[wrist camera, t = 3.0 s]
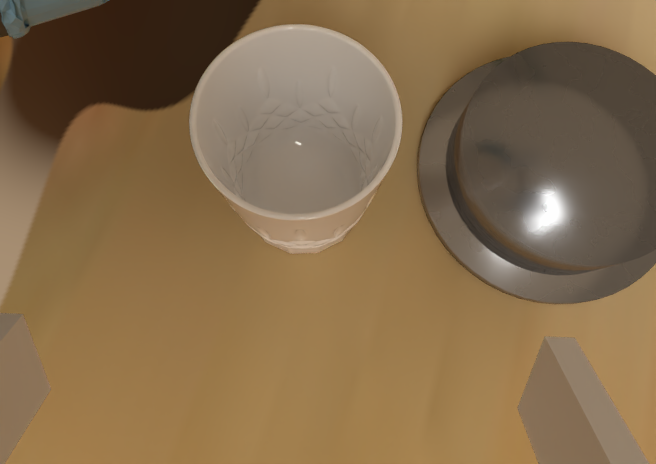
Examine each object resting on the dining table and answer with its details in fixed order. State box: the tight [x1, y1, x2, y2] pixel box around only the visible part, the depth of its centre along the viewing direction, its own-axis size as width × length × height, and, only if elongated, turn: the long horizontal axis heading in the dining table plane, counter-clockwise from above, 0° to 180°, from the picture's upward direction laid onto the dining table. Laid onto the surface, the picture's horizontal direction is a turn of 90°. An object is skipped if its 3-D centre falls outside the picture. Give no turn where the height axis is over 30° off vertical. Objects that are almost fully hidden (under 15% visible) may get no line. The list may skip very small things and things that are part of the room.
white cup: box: [189, 24, 402, 254], centre depth 23 cm, size 8×8×10 cm
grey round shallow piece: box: [417, 42, 656, 304], centre depth 26 cm, size 15×15×4 cm
